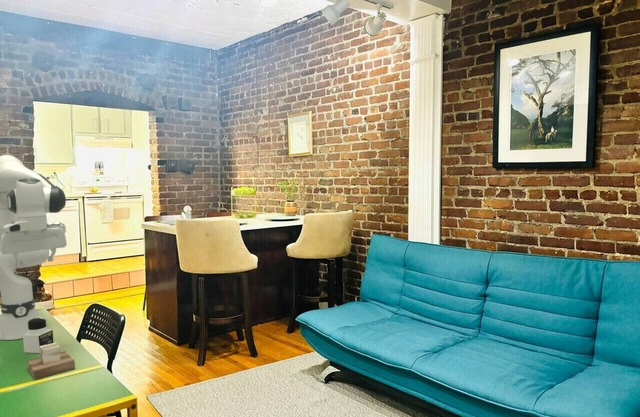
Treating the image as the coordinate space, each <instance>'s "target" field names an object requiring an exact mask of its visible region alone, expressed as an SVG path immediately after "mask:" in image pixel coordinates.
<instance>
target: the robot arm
mask: <svg viewBox="0 0 640 417" xmlns="http://www.w3.org/2000/svg"><path fill="white" fill-rule="evenodd" d="M66 204H67V199H66V194H65V192H64V190H63V189H61V188H60V186H57V185H54V184H53V183H52V182H50V180H49V179H47V178H46V177H45V176H44V175H42V174H41V173H38V172H35V171H34V170H32V169H31V168H30V167H27V166H25V165H24V164H23V162H22V161H21V160H19V158H17V157H16V156H13V155H11V154H10V155H9V154H3V155H0V297H1V303H0V312H1V314H0V340H1V341H12V340H19V339H23V334H25V333H27V332H29V331H28V321H29V320H31V319H34V318H41V315H40V314H41V313H40V311H39V310H38V309H36V308H35V307H36V305H35V304H36V302H35V299H34V295H33V294H34V293H33V284H32V281H31V280H30V279H29V278H27V277H25V276H22V275H19V274H15V273H14V270H15V269H22V268H29V267H34V266H38V265H42V264H44V263H45V262H49V263H50V262H51V263H52V262H54V256H55V255H56V252H57V249H62V248H65V247H67V245H68V242H67V237H66V232H67V228H66V225H65V224H64V223H61V222H60V221H58V222H48V219H47V213H50V214H51V213H52V214H54V213H55V214H56V213H57V214H58V213H60V212H61V211H63V209H64V208H65V207H66ZM50 252H51V253H50Z"/></svg>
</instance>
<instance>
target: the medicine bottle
mask: <svg viewBox="0 0 640 417" xmlns="http://www.w3.org/2000/svg"><path fill="white" fill-rule="evenodd" d="M28 331H29V332H27V333H25V334H23V338H22V340H23V352H24V353H25V354H26V353H27V354H28V353H29V354H40V346H43V345H48V344H52V343H55V342H54V330H53V328H48V326H47V319H46V317H40V318H34V319H31V320H29V321H28Z"/></svg>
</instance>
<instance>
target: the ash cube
mask: <svg viewBox="0 0 640 417" xmlns="http://www.w3.org/2000/svg"><path fill="white" fill-rule="evenodd" d="M60 352H61V349H60V345H59V344H58V343H57V342H54V343H52V344H48V345H43V346H40V353H39V357H40V358H41V362H42V363H43V364H44V365H45V364H49V363H53V362H57V361H61V360H60Z"/></svg>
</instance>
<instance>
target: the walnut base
mask: <svg viewBox="0 0 640 417" xmlns="http://www.w3.org/2000/svg"><path fill="white" fill-rule="evenodd" d="M60 360H61V361H57V362H53V363H49V364H45V365H44V364H43V363H42V362H41V358H40V356H39V357H37V358H33V359H28V360H26V367H27V371H28V372H29V374H31V376H32V378H33V379H34V381H37V380H40V379H44V378H47V377H51V376H54V375H59V374H62V373H66V372H69V371H73V370H75V369H76V362H75V359H74V358H73V357H72V356H71V355H70V354H69V353H68V352H67V351H66V350H64V351H60Z"/></svg>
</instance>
